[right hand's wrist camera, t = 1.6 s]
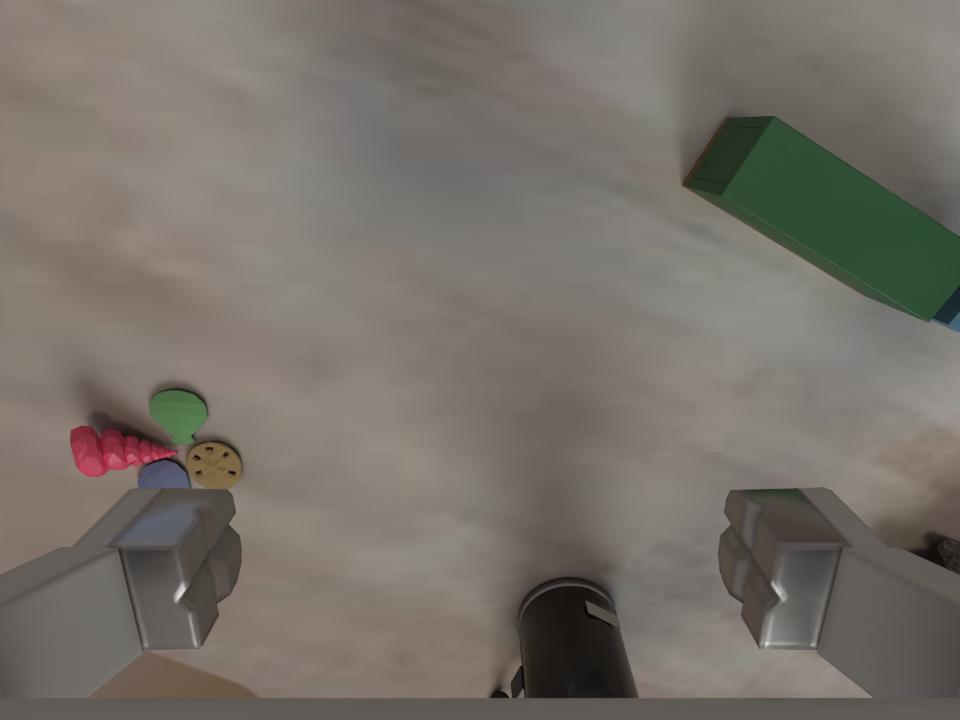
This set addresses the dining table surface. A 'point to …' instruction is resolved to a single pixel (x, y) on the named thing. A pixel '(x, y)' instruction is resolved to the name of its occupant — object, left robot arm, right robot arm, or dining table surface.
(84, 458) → the toy pieces
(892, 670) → the right robot arm
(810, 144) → the elongated green cuboid
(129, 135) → the dining table surface
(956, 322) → the drawer
